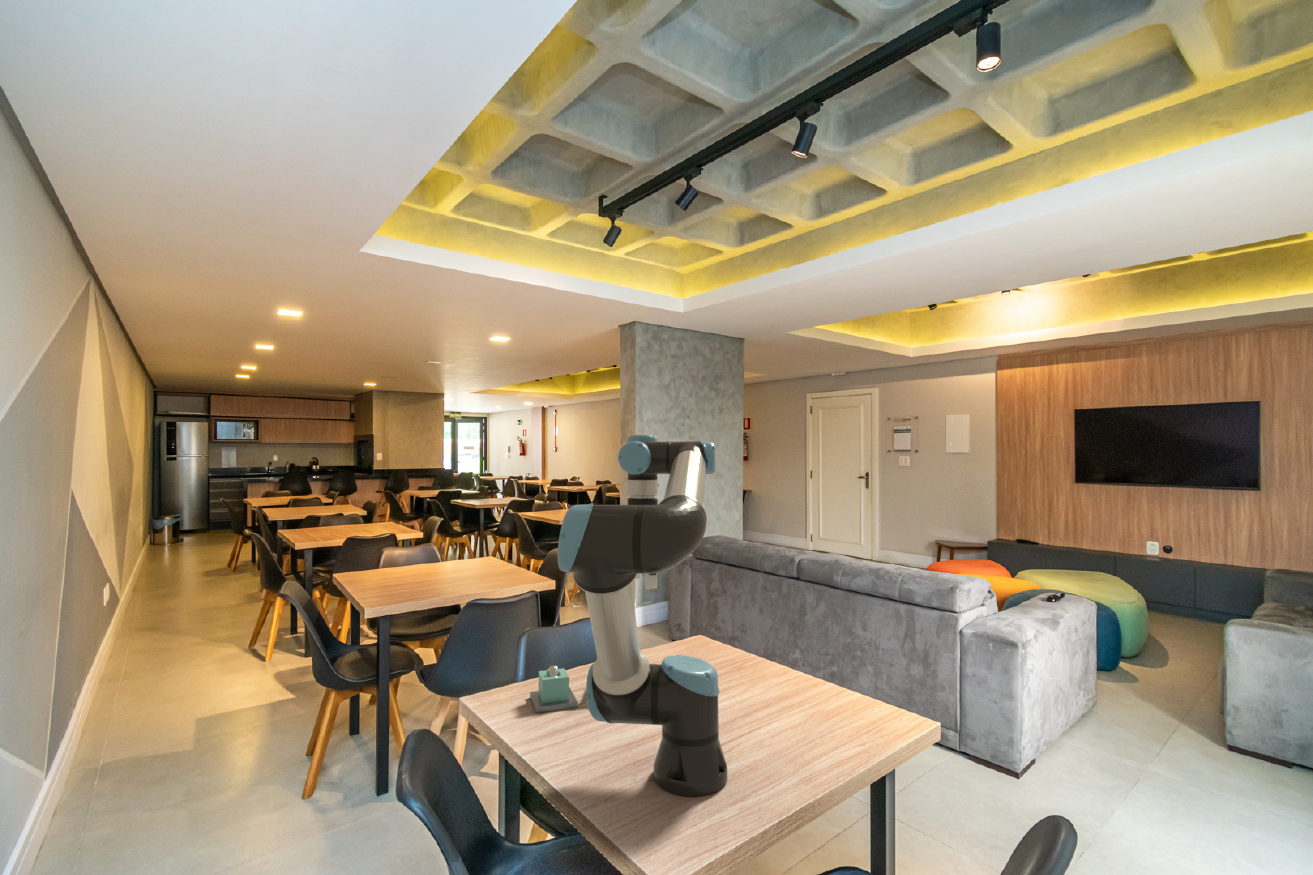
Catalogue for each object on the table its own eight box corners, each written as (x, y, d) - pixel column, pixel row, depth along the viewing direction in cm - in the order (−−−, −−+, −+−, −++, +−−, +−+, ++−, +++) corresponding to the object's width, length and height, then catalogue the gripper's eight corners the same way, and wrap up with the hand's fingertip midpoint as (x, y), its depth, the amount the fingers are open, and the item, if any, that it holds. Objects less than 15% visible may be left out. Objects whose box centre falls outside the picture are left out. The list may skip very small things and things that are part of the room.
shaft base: (577, 707, 160) (577, 670, 160) (535, 713, 156) (535, 675, 157) (569, 692, 170) (569, 658, 171) (529, 697, 167) (530, 662, 167)
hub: (542, 703, 159) (542, 677, 159) (538, 693, 166) (538, 668, 166) (568, 699, 161) (569, 674, 161) (563, 690, 168) (564, 666, 168)
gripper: (674, 499, 140) (674, 592, 139) (641, 494, 164) (641, 573, 163) (643, 500, 138) (643, 594, 137) (614, 494, 161) (614, 575, 160)
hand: (642, 583), depth 150 cm, fingers open, 13 cm apart
